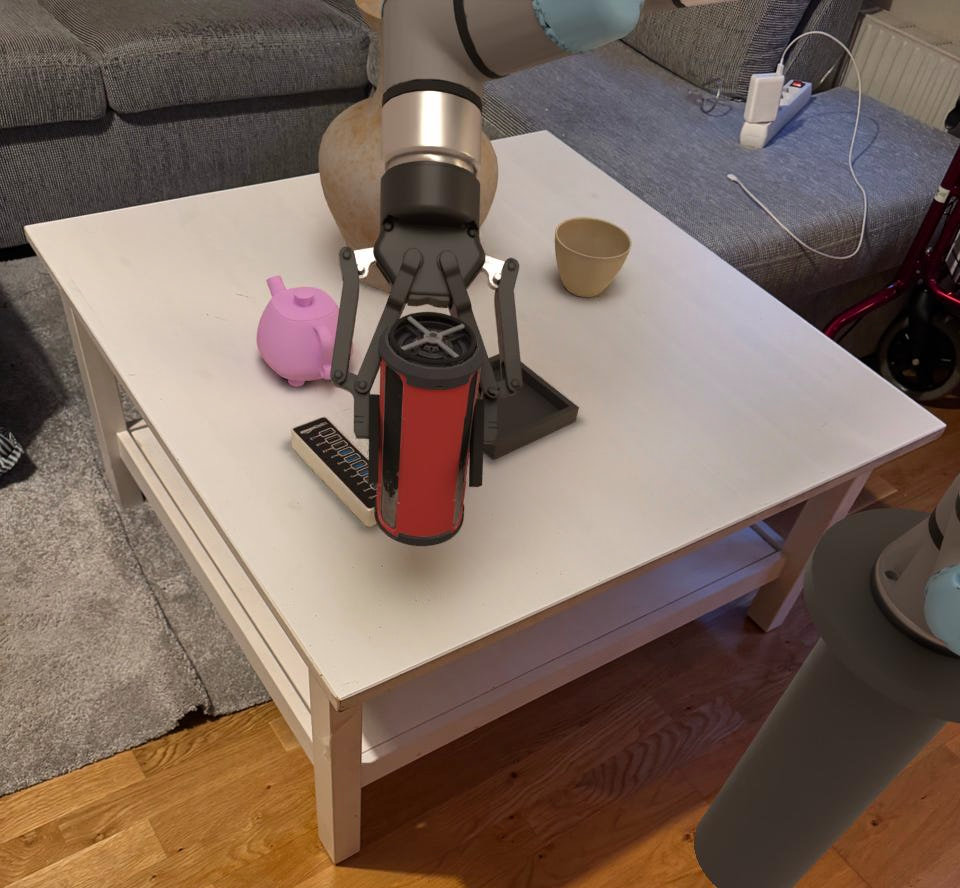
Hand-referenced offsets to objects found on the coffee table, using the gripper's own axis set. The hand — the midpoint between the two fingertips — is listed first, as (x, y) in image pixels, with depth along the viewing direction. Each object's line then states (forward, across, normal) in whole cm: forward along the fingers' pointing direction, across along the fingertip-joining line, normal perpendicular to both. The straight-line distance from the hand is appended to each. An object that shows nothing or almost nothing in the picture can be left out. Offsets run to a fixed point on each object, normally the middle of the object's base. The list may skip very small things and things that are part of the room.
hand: (424, 484), depth 71 cm
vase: (-31, 0, -55) cm, 63 cm away
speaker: (+3, 0, -8) cm, 8 cm away
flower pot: (-29, -24, -53) cm, 65 cm away
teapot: (-15, +12, -39) cm, 43 cm away
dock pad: (-10, -11, -34) cm, 37 cm away
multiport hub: (-1, +7, -25) cm, 26 cm away
